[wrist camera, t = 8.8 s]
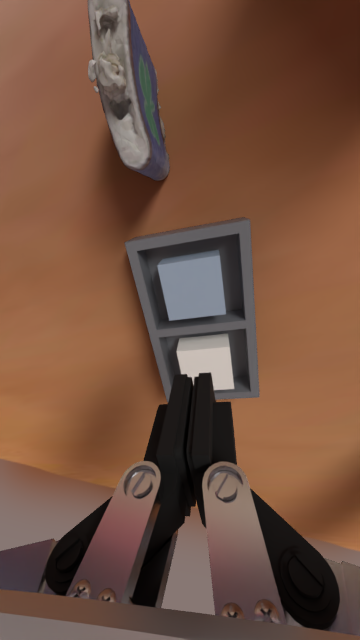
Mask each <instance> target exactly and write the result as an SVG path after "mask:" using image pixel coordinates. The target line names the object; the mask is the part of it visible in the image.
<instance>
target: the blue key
mask: <svg viewBox="0 0 360 640" xmlns="http://www.w3.org/2000/svg"><path fill="white" fill-rule="evenodd" d="M157 267H158V272H159V276H160V281H161V285H162V290H163V294H164V299H165V303H166V308H167V312H168V317H169V321H171V320H180V319H189V318H197V317H206V316H215V315H223V314H226V309H225V299H224V290H223V281H222V272H221V263H220V254H219V250H214V251H208V252H201V253H195V254H189V255H183V256H177V257H171V258H165V259H162V260H161V261H160V263H159V264H158V265H157Z"/></svg>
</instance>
